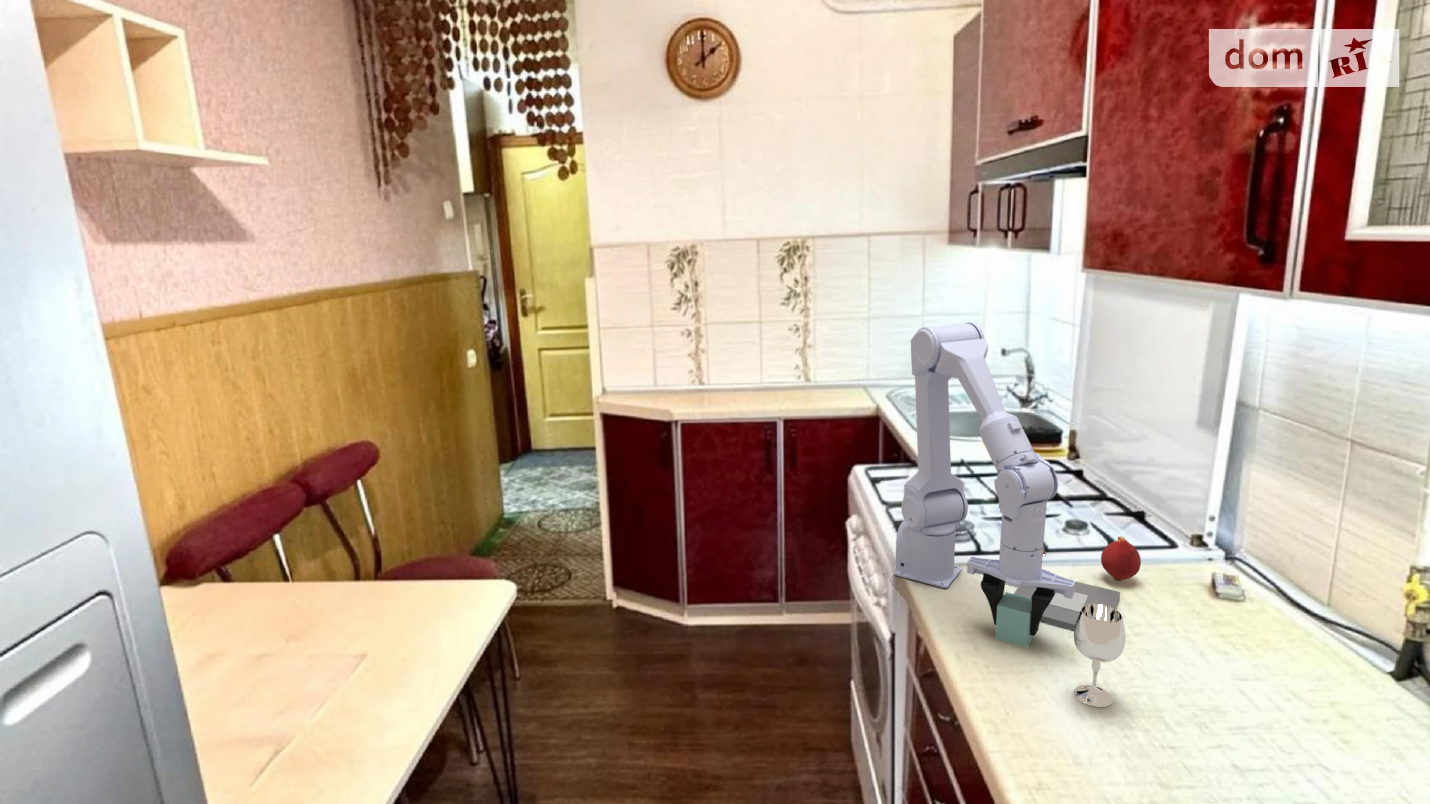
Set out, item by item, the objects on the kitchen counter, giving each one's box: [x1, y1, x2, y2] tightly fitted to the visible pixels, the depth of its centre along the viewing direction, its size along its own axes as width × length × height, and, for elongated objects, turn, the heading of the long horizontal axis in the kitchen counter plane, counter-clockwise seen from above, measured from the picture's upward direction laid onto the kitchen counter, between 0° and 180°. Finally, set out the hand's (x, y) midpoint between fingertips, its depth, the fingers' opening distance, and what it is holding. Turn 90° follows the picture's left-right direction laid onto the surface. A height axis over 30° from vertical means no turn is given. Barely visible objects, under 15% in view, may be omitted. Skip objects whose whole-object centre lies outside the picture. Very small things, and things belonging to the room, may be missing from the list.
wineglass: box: [1073, 604, 1126, 708], centre depth 94 cm, size 6×6×12 cm
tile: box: [1013, 580, 1121, 631], centre depth 117 cm, size 14×14×1 cm
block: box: [994, 591, 1034, 648], centre depth 109 cm, size 4×4×6 cm
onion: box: [1100, 536, 1142, 582], centre depth 123 cm, size 6×6×8 cm
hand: (1015, 627), depth 109 cm, fingers closed on block, 4 cm apart
